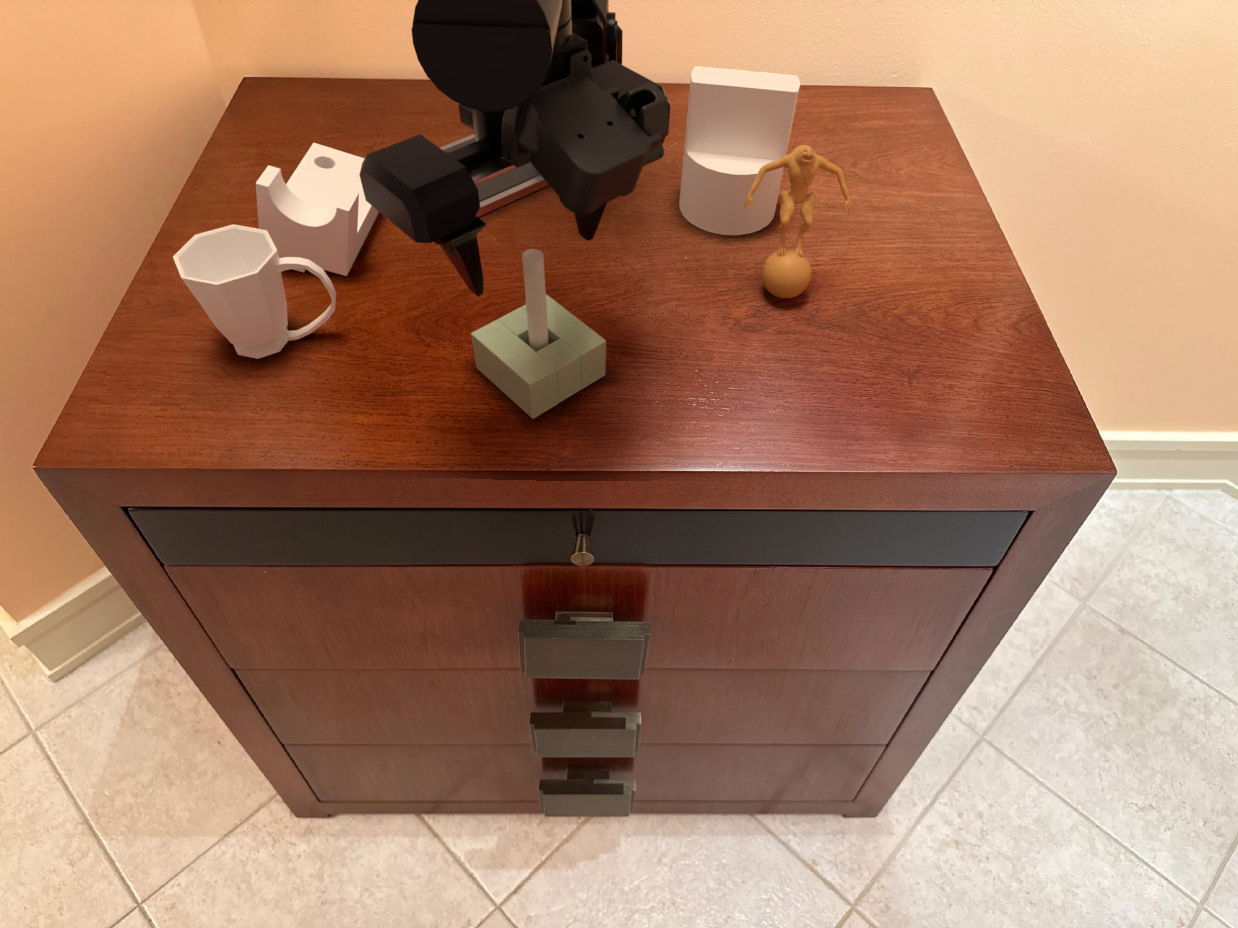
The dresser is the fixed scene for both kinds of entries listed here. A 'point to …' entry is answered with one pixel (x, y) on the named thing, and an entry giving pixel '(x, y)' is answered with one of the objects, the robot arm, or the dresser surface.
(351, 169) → the bracket
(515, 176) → the tablet
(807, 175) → the figurine
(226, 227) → the cup
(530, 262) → the stylus
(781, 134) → the cylinder with rectangular tab
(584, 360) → the pen stand
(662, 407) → the dresser surface
